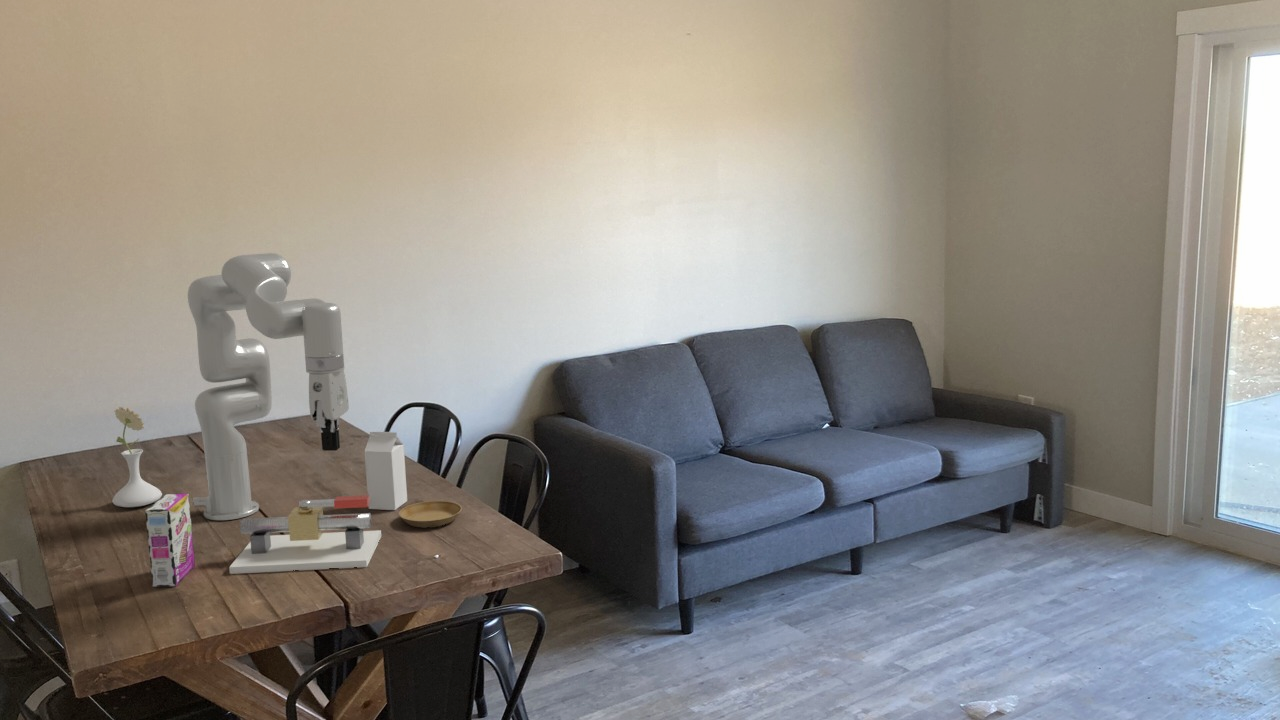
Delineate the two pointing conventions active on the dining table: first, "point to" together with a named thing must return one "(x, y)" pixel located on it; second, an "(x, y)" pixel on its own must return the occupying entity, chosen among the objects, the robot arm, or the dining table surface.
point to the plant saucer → (430, 513)
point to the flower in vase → (133, 468)
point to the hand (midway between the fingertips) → (331, 449)
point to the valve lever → (338, 502)
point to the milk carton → (385, 471)
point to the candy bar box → (170, 540)
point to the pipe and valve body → (305, 527)
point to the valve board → (307, 554)
